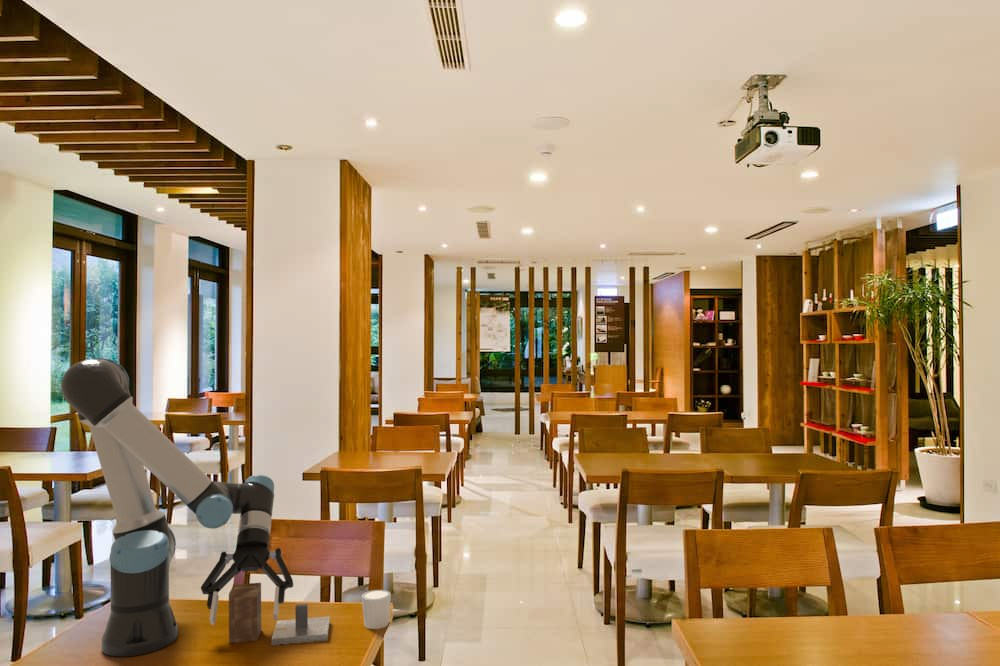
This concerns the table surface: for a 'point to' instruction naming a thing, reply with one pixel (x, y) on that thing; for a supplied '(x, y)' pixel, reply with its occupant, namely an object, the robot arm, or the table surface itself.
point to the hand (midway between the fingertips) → (244, 619)
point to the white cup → (376, 608)
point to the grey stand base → (301, 628)
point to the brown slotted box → (244, 612)
